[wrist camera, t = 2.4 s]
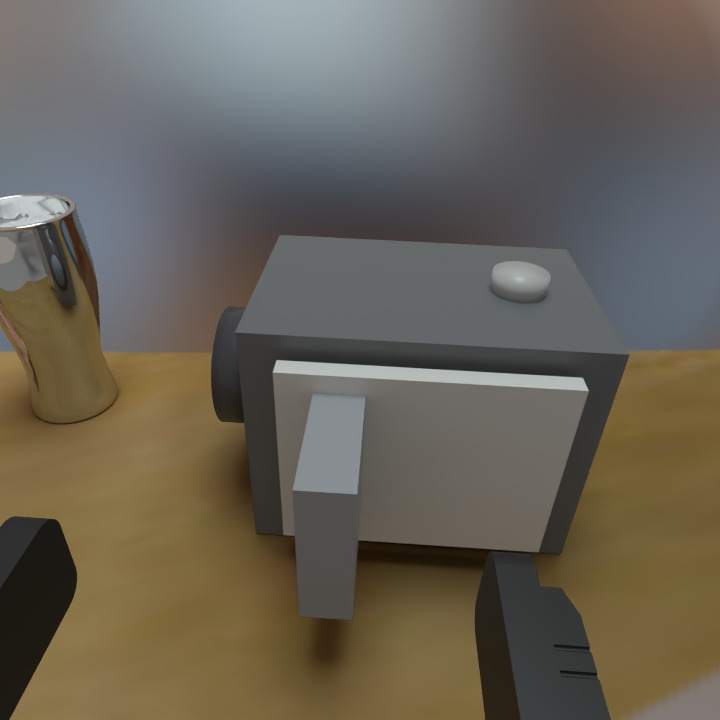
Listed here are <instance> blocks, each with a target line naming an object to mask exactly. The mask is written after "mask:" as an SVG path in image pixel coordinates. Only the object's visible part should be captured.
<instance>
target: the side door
mask: <svg viewBox="0 0 720 720" xmlns="http://www.w3.org/2000/svg"><path fill="white" fill-rule="evenodd" d="M273 385H274V400H275V415H276V430H277V445H278V460H279V475H280V491H281V506H282V521H283V535H289V536H295V549H296V569H297V589H298V609H299V616H300V617H314V618H328V619H342V620H352V619H353V606H354V592H355V579H356V566H357V552H358V540H363V541H378V542H393V543H407V544H422V545H437V546H452V547H466V548H481V549H496V550H511V551H526V552H539V549H540V546H541V542H542V539H543V536H544V533H545V530H546V526H547V523H548V520H549V517H550V514H551V510H552V507H553V504H554V501H555V498H556V494H557V491H558V488H559V485H560V482H561V478H562V475H563V472H564V469H565V466H566V462H567V459H568V456H569V453H570V450H571V446H572V443H573V440H574V437H575V434H576V430H577V427H578V424H579V421H580V418H581V414H582V411H583V408H584V405H585V402H586V398H587V395H588V392H589V390H588V388H587V386H586V384H585V381H584V379H583V378H577V377H560V376H543V375H526V374H508V373H491V372H474V371H456V370H439V369H422V368H405V367H387V366H370V365H353V364H335V363H318V362H301V361H284V360H277V361H276V364H275V367H274V370H273Z"/></svg>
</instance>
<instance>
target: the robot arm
mask: <svg viewBox="0 0 720 720" xmlns="http://www.w3.org/2000/svg"><path fill="white" fill-rule="evenodd" d="M76 584H77V571H76V567H75V564H74V562H73V559H72V556H71V553H70V551H69V548H68V545H67V542H66V540H65V537H64V534H63V531H62V528H61V526H60V524H59V522H58V521H57V520H55V519H45V518H31V517H17V516H15V517H11V518H9V519H8V520H6V521H5V522H4V523H3V524H2V526H1V527H0V720H9V719H10V717H11V715H12V714H13V712H14V710H15V708H16V706H17V704H18V702H19V700H20V698H21V697H22V695H23V693H24V691H25V689H26V687H27V685H28V683H29V681H30V680H31V678H32V676H33V674H34V672H35V670H36V668H37V666H38V665H39V663H40V661H41V659H42V657H43V655H44V653H45V651H46V649H47V648H48V646H49V644H50V642H51V640H52V638H53V636H54V634H55V632H56V631H57V629H58V627H59V625H60V623H61V621H62V619H63V617H64V615H65V614H66V612H67V610H68V608H69V606H70V604H71V602H72V599H73V597H74V593H75V590H76ZM475 635H476V644H477V652H478V661H479V669H480V678H481V686H482V695H483V703H484V712H485V720H611V719H610V716H609V712H608V709H607V705H606V702H605V698H604V695H603V691H602V688H601V684H600V681H599V680H598V679H597V670H596V667H595V663H594V660H593V656H592V653H590V650H589V648H590V646H589V643H588V639H587V636H586V632H585V629H584V625H583V622H582V618H581V615H580V614H579V613H578V611H577V610H576V608H575V607H574V605H573V604H572V603H571V601H570V600H569V598H568V597H567V596H566V594H565V593H564V591H563V590H562V588H553V587H540V584H539V579H538V575H537V571H536V567H535V563H534V560H533V558H532V556H531V555H530V554H519V553H505V552H491V551H490V552H489V553H488V555H487V558H486V562H485V566H484V570H483V574H482V578H481V583H480V587H479V591H478V595H477V599H476V606H475Z"/></svg>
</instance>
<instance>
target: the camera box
mask: <svg viewBox="0 0 720 720" xmlns="http://www.w3.org/2000/svg"><path fill="white" fill-rule="evenodd" d="M628 358H629V353H628V351H627V350H626V348H625V346H624V345H623V343H622V341H621V340H620V338H619V336H618V335H617V333H616V331H615V330H614V328H613V326H612V325H611V323H610V321H609V320H608V318H607V316H606V315H605V313H604V311H603V310H602V308H601V307H600V305H599V303H598V302H597V300H596V298H595V296H594V295H593V293H592V291H591V290H590V288H589V286H588V285H587V283H586V282H585V280H584V278H583V276H582V275H581V273H580V271H579V270H578V268H577V266H576V265H575V263H574V261H573V260H572V258H571V256H570V255H569V253H568V251H567V250H564V249H544V248H525V247H505V246H485V245H466V244H446V243H427V242H407V241H386V240H368V239H347V238H328V237H308V236H288V235H280V236H279V238H278V240H277V243H276V245H275V247H274V249H273V251H272V253H271V256H270V258H269V260H268V262H267V264H266V266H265V269H264V271H263V273H262V275H261V277H260V279H259V281H258V284H257V286H256V288H255V290H254V292H253V295H252V297H251V299H250V301H249V303H248V305H247V307H234V306H229V307H227V308H226V309H225V310H224V312H223V313H222V315H221V318H220V320H219V323H218V326H217V330H216V335H215V340H214V346H213V352H212V360H211V386H212V398H213V404H214V408H215V412H216V415H217V417H218V419H219V420H220V421H222V422H235V423H245V433H246V442H247V452H248V461H249V471H250V480H251V489H252V499H253V508H254V518H255V527H256V533H257V534H272V535H283V521H282V506H281V491H280V475H279V460H278V445H277V430H276V415H275V400H274V385H273V370H274V367H275V364H276V361H277V360H284V361H301V362H318V363H335V364H353V365H370V366H387V367H405V368H422V369H439V370H456V371H474V372H491V373H508V374H526V375H543V376H560V377H577V378H583V379H584V381H585V384H586V386H587V388H588V390H589V392H588V395H587V398H586V402H585V405H584V408H583V411H582V414H581V418H580V421H579V424H578V427H577V430H576V434H575V437H574V440H573V443H572V446H571V450H570V453H569V456H568V459H567V462H566V466H565V469H564V472H563V475H562V478H561V482H560V485H559V488H558V491H557V494H556V498H555V501H554V504H553V507H552V510H551V514H550V517H549V520H548V523H547V526H546V530H545V533H544V536H543V539H542V542H541V546H540V549H539V552H538V553H553V554H561V551H562V548H563V545H564V542H565V540H566V537H567V534H568V531H569V528H570V525H571V522H572V519H573V516H574V514H575V511H576V508H577V505H578V502H579V499H580V496H581V493H582V490H583V488H584V485H585V482H586V479H587V476H588V473H589V470H590V467H591V464H592V462H593V459H594V456H595V453H596V450H597V447H598V444H599V441H600V438H601V436H602V433H603V430H604V427H605V424H606V421H607V418H608V415H609V412H610V410H611V407H612V404H613V401H614V398H615V395H616V392H617V389H618V386H619V384H620V381H621V378H622V375H623V372H624V369H625V366H626V363H627V360H628ZM287 536H289V535H287ZM361 541H363V540H361ZM375 542H378V541H375ZM390 543H393V542H390ZM405 544H407V543H405ZM420 545H422V544H420ZM434 546H437V545H434ZM449 547H452V546H449ZM464 548H466V547H464ZM479 549H481V548H479ZM494 550H496V549H494ZM508 551H511V550H508ZM523 552H526V551H523Z"/></svg>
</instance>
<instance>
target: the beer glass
mask: <svg viewBox="0 0 720 720" xmlns="http://www.w3.org/2000/svg"><path fill="white" fill-rule="evenodd" d="M0 328H1V329H2V331H3V332H4V334H5V335H6V337H7V338H8V341H9V342H10V344H11V345H12V347H13V348H14V350H15V352H16V353H17V355H18V357H19V359H20V360H21V362H22V364H23V367H24V369H25V371H26V374H27V378H28V382H29V388H30V398H31V405H32V409H33V412H34V413H35V415H36V416H37V417H38V418H40V419H42V420H44V421H47V422H51V423H73V422H79V421H83V420H86V419H89V418H91V417H94V416H96V415H98V414H100V413H101V412H103V411H104V410H106V409H107V408H108V407H109V406H111V404H112V403H113V402H114V401H115V399H116V397H117V395H118V386H117V383H116V381H115V379H114V377H113V375H112V373H111V371H110V369H109V367H108V365H107V363H106V361H105V358H104V354H103V350H102V345H101V335H100V312H99V296H98V286H97V278H96V273H95V269H94V263H93V259H92V256H91V252H90V249H89V245H88V242H87V240H86V236H85V233H84V230H83V227H82V225H81V222H80V219H79V216H78V213H77V210H76V205H75V203H74V201H73V200H71V199H69V198H67V197H64V196H60V195H55V194H43V193H38V194H37V193H35V194H34V193H33V194H18V195H10V196H4V197H0Z"/></svg>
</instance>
